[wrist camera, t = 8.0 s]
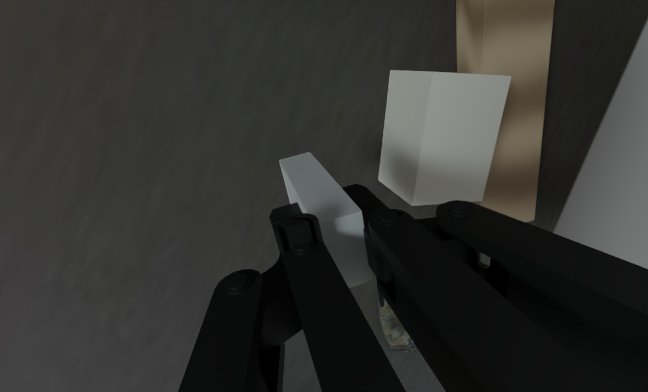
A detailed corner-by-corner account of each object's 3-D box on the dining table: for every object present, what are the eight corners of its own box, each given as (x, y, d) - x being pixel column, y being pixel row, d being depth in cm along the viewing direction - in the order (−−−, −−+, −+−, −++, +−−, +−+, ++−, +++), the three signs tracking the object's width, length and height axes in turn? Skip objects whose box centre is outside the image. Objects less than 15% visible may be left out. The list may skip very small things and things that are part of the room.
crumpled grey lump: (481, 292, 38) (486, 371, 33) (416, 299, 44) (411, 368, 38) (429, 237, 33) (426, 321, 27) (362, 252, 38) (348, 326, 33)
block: (389, 70, 26) (432, 71, 20) (455, 73, 27) (511, 75, 22) (377, 179, 29) (412, 205, 24) (437, 177, 31) (482, 200, 25)
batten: (454, -68, 23) (484, -85, 21) (526, -79, 24) (563, -97, 22) (459, 224, 33) (480, 238, 30) (510, 207, 34) (534, 219, 31)
